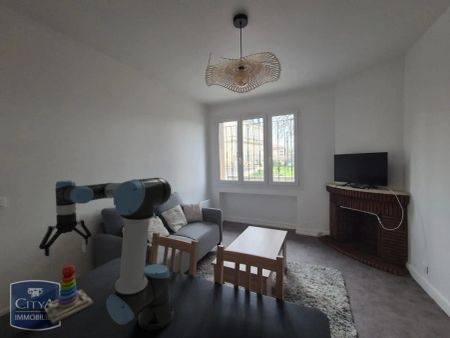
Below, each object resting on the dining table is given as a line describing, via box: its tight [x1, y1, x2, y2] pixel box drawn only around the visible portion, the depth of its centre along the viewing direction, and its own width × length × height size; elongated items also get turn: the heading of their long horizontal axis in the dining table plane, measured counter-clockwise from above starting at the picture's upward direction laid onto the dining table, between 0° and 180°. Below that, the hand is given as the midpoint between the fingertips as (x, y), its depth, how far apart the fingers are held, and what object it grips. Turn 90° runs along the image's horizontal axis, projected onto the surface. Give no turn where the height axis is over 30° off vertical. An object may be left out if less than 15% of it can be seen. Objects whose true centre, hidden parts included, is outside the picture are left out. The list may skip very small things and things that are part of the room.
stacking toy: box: [58, 264, 78, 309], centre depth 100 cm, size 8×8×19 cm
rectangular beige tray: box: [42, 289, 94, 326], centre depth 101 cm, size 16×16×2 cm
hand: (67, 256), depth 100 cm, fingers open, 13 cm apart
